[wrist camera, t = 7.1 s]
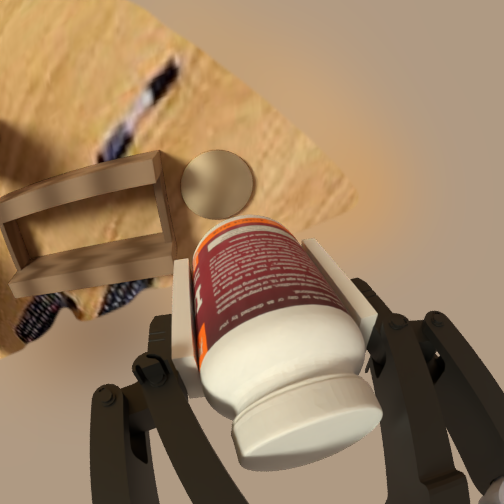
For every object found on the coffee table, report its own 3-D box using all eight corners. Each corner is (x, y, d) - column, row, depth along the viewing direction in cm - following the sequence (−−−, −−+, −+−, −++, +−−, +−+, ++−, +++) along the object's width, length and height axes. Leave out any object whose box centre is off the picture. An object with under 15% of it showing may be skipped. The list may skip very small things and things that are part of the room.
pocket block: (32, 272, 30) (15, 298, 25) (4, 195, 24) (-21, 212, 19) (176, 246, 33) (175, 273, 28) (159, 149, 27) (152, 159, 22)
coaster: (186, 222, 32) (186, 224, 31) (176, 155, 28) (176, 156, 27) (253, 212, 33) (254, 214, 32) (249, 146, 29) (250, 146, 28)
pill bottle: (170, 241, 14) (165, 452, 5) (276, 192, 14) (416, 352, 5) (219, 318, 18) (256, 484, 8) (307, 278, 18) (397, 427, 8)
